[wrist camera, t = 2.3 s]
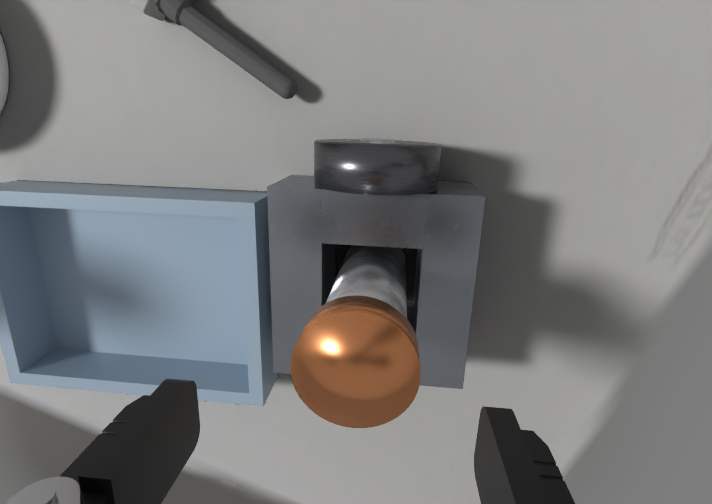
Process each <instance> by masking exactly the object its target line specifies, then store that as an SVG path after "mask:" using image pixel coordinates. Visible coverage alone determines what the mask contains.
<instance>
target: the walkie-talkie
mask: <svg viewBox="0 0 712 504" xmlns="http://www.w3.org/2000/svg"><path fill="white" fill-rule="evenodd" d="M130 1H131V3H132V5H133V6H134V7H136V8H137V9H139V10H140V11H142V12H143V13H145V14H146V15H149V16H151V17H154V18H156V19H158V20H161V21H163V20H165V18H166V17H168V18H169V19H171V20H172V21H174V22H175V23H176V24H178V25H183V26H185V27H186V28H188V29H189V30H190V31H192V32H193V33H194V34H196V35H197V36H199V37H200V38H201V39H203V40H204V41H205V42H207V43H208V44H210V45H211V46H212V47H214V48H215V49H217V50H218V51H219V52H221V53H222V54H223V55H225V56H226V57H228V58H229V59H230V60H232V61H233V62H234V63H236V64H237V65H239V66H240V67H241V68H243V69H244V70H245V71H247V72H248V73H250V74H251V75H252V76H254V77H255V78H256V79H258V80H259V81H261V82H262V83H263V84H265V85H266V86H267V87H269V88H270V89H272V90H273V91H274V92H276V93H277V94H278V95H280V96H281V97H283V98H285V99H289V98H292V97H293V96H294V95H295V94H296V91H297V86H296V83H295V82H294V80H292V79H291V78H289V77H288V76H287V75H285V74H284V73H283V72H281V71H280V70H279V69H277V68H276V67H274V66H273V65H272V64H270V63H269V62H268V61H266V60H265V59H264V58H262V57H261V56H260V55H258V54H257V53H255V52H254V51H253V50H251V49H250V48H249V47H247V46H246V45H245V44H243V43H242V42H240V41H239V40H238V39H236V38H235V37H234V36H232V35H231V34H230V33H228V32H227V31H226V30H224V29H223V28H221V27H220V26H219V25H217V24H216V23H215V22H213V21H212V20H211V19H209V18H208V17H206V16H205V15H204V14H202V13H201V12H200V11H198V10H197V9H196V8H194V7H193V6H192V3H191V2H190V1H189V0H130Z"/></svg>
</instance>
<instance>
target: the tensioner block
mask: <svg viewBox="0 0 712 504" xmlns="http://www.w3.org/2000/svg"><path fill="white" fill-rule="evenodd" d="M441 146H442V145H440V144H435V143H426V142H413V141H395V140H392V139H329V140H316V141H314V176H300V175H290V176H288V177H286V178H284V179H282V180H280V181H278V182H276V183H274V184H272V185H270V186H268V187H267V197H268V226H269V255H270V284H271V313H272V342H273V372H274V373H282V374H291V370H290V365H291V357H292V353H293V350H294V347H295V345H296V343H297V341H298V339H299V337H300V335H301V332H302V330H303V328H304V326H305V324H306V322H307V321H308V319H309V318H310V316H311V315H312V314H313V313H314V312H315V311H316V310H317V309H318V308H320V307H321V306H322V305H324V304H326V302H327V299H328V297H329V294H330V292H331V290H332V287H333V285H334V282H335V244H342V245H360V246H378V247H396V248H413V249H417V260H416V274H415V287H414V301H413V304H412V303H407V320H408V321H409V323H410V324H411V326H412V327H413V330H414V332H415V334H416V337H417V340H418V347H419V360H420V384H419V385H423V386H435V387H447V388H458V389H463V381H464V373H465V365H466V356H467V348H468V340H469V331H470V323H471V314H472V306H473V298H474V289H475V281H476V273H477V264H478V256H479V247H480V239H481V231H482V222H483V214H484V205H485V196H484V195H483V194H482V193H481V192H480V191H479V190H478V189H477V188H476V187H475V186H473V185H472V184H471V183H467V182H443V181H439V170H440V158H441Z"/></svg>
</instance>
